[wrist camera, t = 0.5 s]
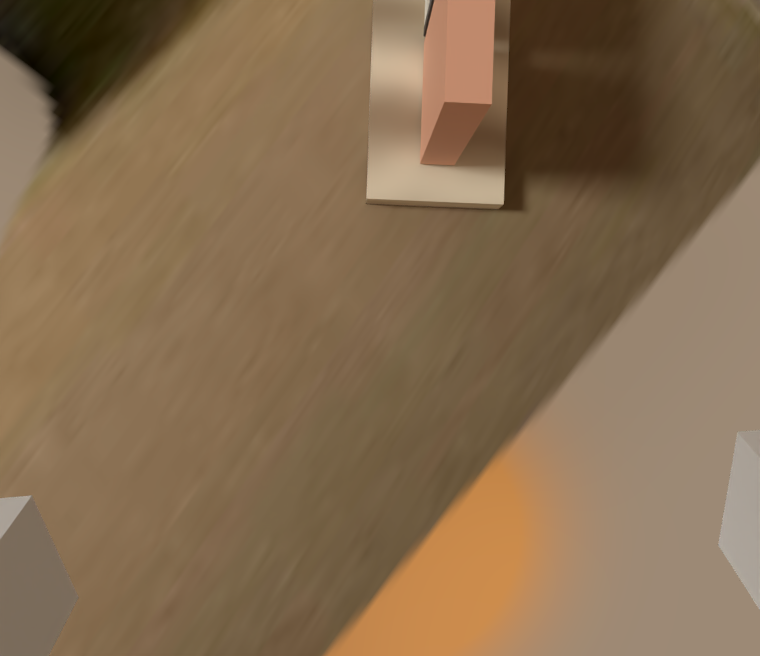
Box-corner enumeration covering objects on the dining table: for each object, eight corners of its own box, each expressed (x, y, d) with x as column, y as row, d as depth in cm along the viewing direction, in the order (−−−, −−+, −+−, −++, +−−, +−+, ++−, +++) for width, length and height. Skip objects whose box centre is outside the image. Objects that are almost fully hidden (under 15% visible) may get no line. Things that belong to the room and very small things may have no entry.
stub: (454, 165, 37) (491, 104, 27) (419, 163, 36) (444, 102, 26) (458, 44, 37) (497, -63, 27) (424, 42, 36) (450, -65, 26)
